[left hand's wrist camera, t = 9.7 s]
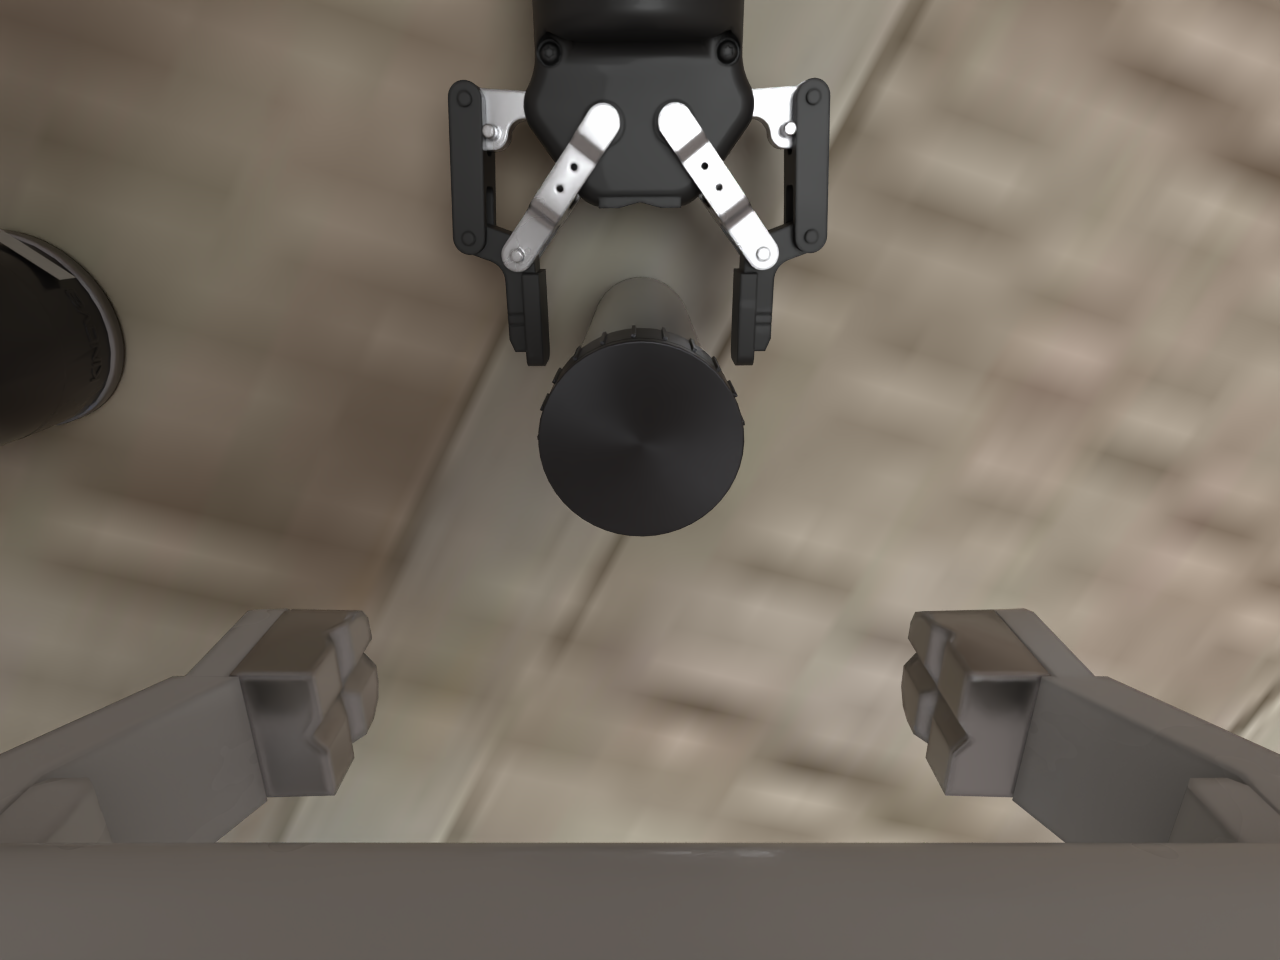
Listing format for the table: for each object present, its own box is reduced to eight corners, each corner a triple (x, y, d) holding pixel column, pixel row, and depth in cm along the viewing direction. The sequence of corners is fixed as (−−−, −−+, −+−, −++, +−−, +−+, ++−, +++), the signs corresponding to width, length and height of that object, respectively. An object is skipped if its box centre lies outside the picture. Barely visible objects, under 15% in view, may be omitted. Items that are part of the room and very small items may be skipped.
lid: (504, 406, 21) (490, 427, 19) (657, 281, 19) (659, 291, 18) (626, 543, 22) (625, 575, 20) (775, 435, 21) (788, 459, 19)
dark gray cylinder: (574, 318, 36) (515, 425, 19) (648, 256, 35) (656, 312, 18) (633, 390, 37) (627, 550, 20) (707, 333, 36) (764, 451, 19)
